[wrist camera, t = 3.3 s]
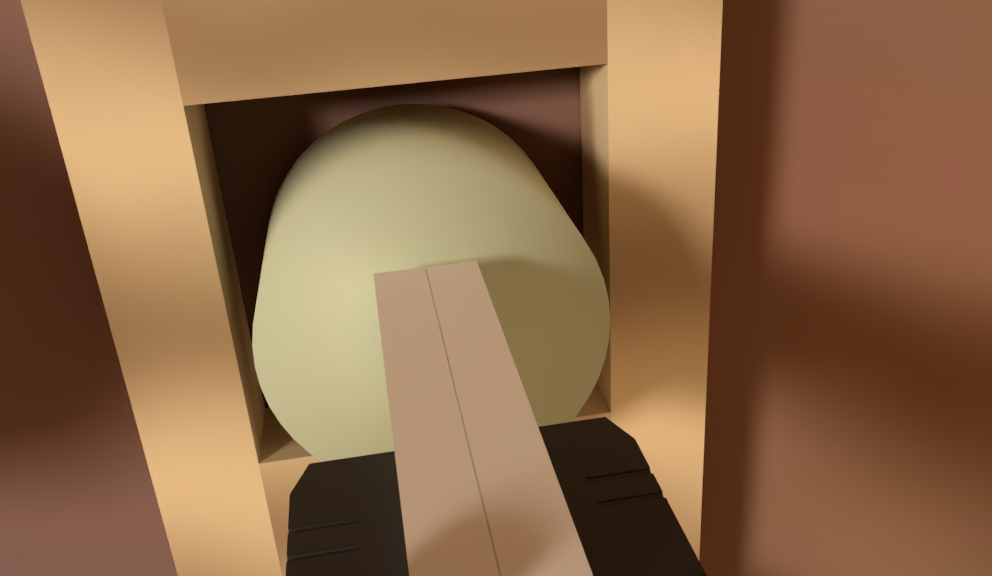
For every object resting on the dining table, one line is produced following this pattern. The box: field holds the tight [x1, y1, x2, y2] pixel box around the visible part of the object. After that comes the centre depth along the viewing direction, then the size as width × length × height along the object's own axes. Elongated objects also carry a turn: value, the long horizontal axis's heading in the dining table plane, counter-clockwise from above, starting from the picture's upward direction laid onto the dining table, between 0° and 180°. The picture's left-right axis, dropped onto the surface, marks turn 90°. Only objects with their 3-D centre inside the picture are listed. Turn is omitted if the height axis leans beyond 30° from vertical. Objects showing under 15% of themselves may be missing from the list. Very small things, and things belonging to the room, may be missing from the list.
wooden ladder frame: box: [21, 0, 723, 576], centre depth 18 cm, size 30×11×2 cm, turn 4°
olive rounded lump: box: [252, 104, 610, 462], centre depth 16 cm, size 6×6×4 cm
